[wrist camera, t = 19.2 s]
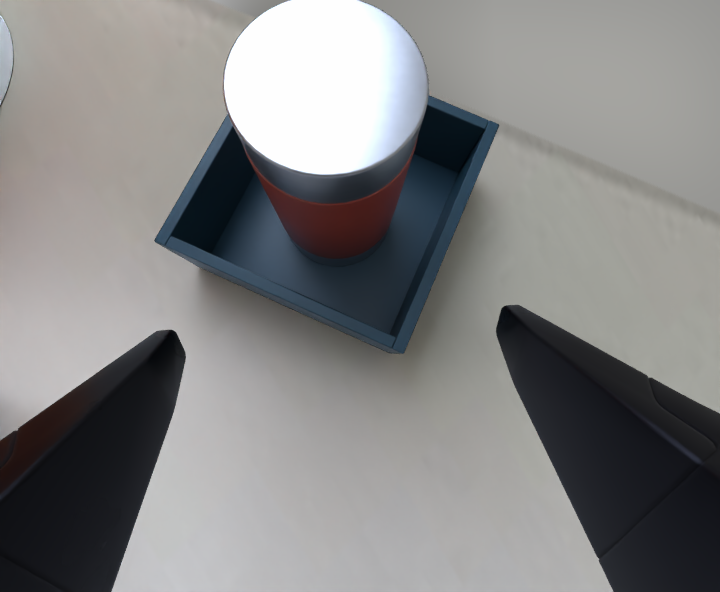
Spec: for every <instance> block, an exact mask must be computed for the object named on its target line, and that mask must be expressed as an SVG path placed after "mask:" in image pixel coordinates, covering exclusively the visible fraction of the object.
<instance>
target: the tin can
mask: <svg viewBox="0 0 720 592" xmlns="http://www.w3.org/2000/svg"><path fill="white" fill-rule="evenodd" d="M428 95H429V82H428V74H427V69H426V65H425V62H424V59H423V56H422V53H421V52H420V50H419V48H418V46H417V44H416V42H415V41H414V39H413V38H412V37H411V35H410V34H409V33H408V32H407V30H405V28H404V27H403V26H402V25H401V24H400V23H399V22H398V21H396V20H395V19H394V18H393V17H392V16H390V15H389V14H387V13H386V12H384V11H383V10H381V9H379V8H377V7H375V6H373V5H371V4H368V3H366V2H363V1H360V0H289V1H286V2H283V3H281V4H278V5H276V6H274V7H272V8H270V9H269V10H267V11H265V12H264V13H262V14H261V15H259V16H258V17H257V18H256V19H254V20H253V21H252V22H251V23H250V24H249V25H248V26H247V27H246V28H245V29H244V30H243V31H242V33H241V34H240V35H239V37H238V38H237V39H236V41H235V43H234V45H233V46H232V48H231V50H230V53H229V55H228V58H227V60H226V64H225V69H224V75H223V96H224V102H225V106H226V110H227V113H228V115H229V118H230V120H231V123H232V125H233V127H234V129H235V131H236V132H237V134H238V136H239V138H240V140H241V142H242V144H243V147H244V150H245V152H246V155H247V157H248V159H249V161H250V163H251V165H252V167H253V169H254V171H255V173H256V175H257V176H258V178H259V180H260V182H261V184H262V186H263V188H264V190H265V192H266V194H267V196H268V198H269V200H270V202H271V204H272V205H273V207H274V209H275V211H276V213H277V215H278V217H279V219H280V221H281V223H282V225H283V227H284V228H285V230H286V232H287V234H288V235H289V237H290V238H291V240H292V242H293V244H294V245H295V246H296V247H297V249H298V250H299V251H300V252H301V253H302V254H304V255H305V256H306V257H308V258H309V259H311V260H313V261H315V262H317V263H320V264H323V265H327V266H348V265H352V264H355V263H358V262H360V261H362V260H364V259H366V258H367V257H369V256H370V255H371V254H373V253H374V252H375V251H376V250H377V249H378V247H379V246H380V245H381V243H382V242H383V240H384V238H385V236H386V233H387V231H388V228H389V226H390V223H391V221H392V218H393V215H394V212H395V209H396V206H397V203H398V200H399V197H400V193H401V190H402V187H403V184H404V181H405V178H406V175H407V172H408V169H409V166H410V163H411V160H412V157H413V154H414V151H415V147H416V143H417V139H418V134H419V130H420V127H421V124H422V121H423V118H424V115H425V111H426V107H427V103H428Z"/></svg>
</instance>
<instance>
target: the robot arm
mask: <svg viewBox="0 0 720 592" xmlns="http://www.w3.org/2000/svg"><path fill="white" fill-rule="evenodd" d="M496 334H497V338H498V341H499V344H500V346H501V349H502V352H503V355H504V358H505V361H506V364H507V367H508V369H509V372H510V375H511V378H512V380H513V383H514V385H515V387H516V390H517V392H518V394H519V396H520V398H521V400H522V402H523V404H524V406H525V408H526V410H527V412H528V415H529V417H530V419H531V421H532V423H533V425H534V427H535V429H536V431H537V433H538V435H539V437H540V439H541V441H542V444H543V446H544V448H545V450H546V452H547V454H548V456H549V458H550V460H551V462H552V464H553V466H554V468H555V471H556V473H557V475H558V477H559V479H560V481H561V483H562V485H563V487H564V489H565V491H566V493H567V495H568V497H569V500H570V502H571V504H572V506H573V508H574V510H575V512H576V514H577V516H578V518H579V520H580V522H581V524H582V526H583V529H584V531H585V533H586V535H587V537H588V539H589V541H590V543H591V545H592V547H593V549H594V551H595V553H596V555H597V557H598V558H599V562H600V564H601V566H602V568H603V571H604V573H605V575H606V577H607V579H608V581H609V583H610V585H611V587H612V589H613V591H614V592H720V414H719V413H717V412H715V411H713V410H711V409H709V408H707V407H705V406H703V405H701V404H699V403H697V402H695V401H693V400H692V399H690V398H688V397H686V396H684V395H682V394H680V393H678V392H676V391H675V390H673V389H671V388H669V387H667V386H665V385H664V384H662V383H660V382H658V381H656V380H655V379H653V378H648V376H647V375H645V374H643V373H642V372H640V371H638V370H636V369H634V368H633V367H631V366H629V365H627V364H625V363H623V362H622V361H620V360H618V359H616V358H614V357H613V356H611V355H609V354H607V353H605V352H603V351H602V350H600V349H598V348H596V347H594V346H593V345H591V344H589V343H587V342H585V341H583V340H582V339H580V338H578V337H576V336H574V335H573V334H571V333H569V332H567V331H565V330H563V329H562V328H560V327H558V326H556V325H554V324H553V323H551V322H549V321H547V320H545V319H543V318H542V317H540V316H538V315H536V314H534V313H533V312H531V311H529V310H527V309H525V308H523V307H522V306H520V305H507V306H504V307H503V308H502V309H501V313H500V316H499V320H498V324H497V328H496ZM185 359H186V354H185V351H184V348H183V346H182V344H181V342H180V340H179V338H178V335H177V334H176V332H175V331H173V330H161V331H156V332H155V333H153V334H152V335H150V336H149V337H148V338H146V339H145V340H143V341H142V342H140V343H139V344H138V345H136V346H135V347H133V348H132V349H130V350H129V351H128V352H126V353H125V354H123V355H122V356H121V357H119V358H118V359H116V360H115V361H113V362H112V363H111V364H109V365H108V366H106V367H105V368H103V369H102V370H101V371H99V372H98V373H96V374H95V375H93V376H92V377H91V378H89V379H88V380H86V381H85V382H83V383H82V384H81V385H79V386H78V387H76V388H75V389H73V390H72V391H71V392H69V393H68V394H66V395H65V396H63V397H62V398H61V399H59V400H58V401H56V402H55V403H53V404H52V405H51V406H49V407H48V408H46V409H45V410H43V411H42V412H41V413H39V414H38V415H36V416H35V417H33V418H32V419H31V420H29V421H28V422H26V423H25V424H24V425H22V426H21V427H19V428H18V431H13V432H12V433H11V434H9V435H8V436H6V437H5V438H3V439H2V440H1V441H0V592H111V591H112V588H113V585H114V582H115V580H116V577H117V574H118V571H119V568H120V565H121V562H122V559H123V557H124V554H125V551H126V548H127V545H128V542H129V539H130V536H131V534H132V531H133V528H134V525H135V522H136V519H137V516H138V513H139V510H140V508H141V505H142V502H143V499H144V496H145V493H146V490H147V487H148V485H149V482H150V479H151V476H152V473H153V470H154V467H155V464H156V462H157V459H158V456H159V453H160V450H161V447H162V444H163V441H164V439H165V436H166V433H167V430H168V427H169V424H170V421H171V418H172V415H173V412H174V409H175V405H176V400H177V396H178V391H179V387H180V382H181V378H182V373H183V369H184V364H185Z"/></svg>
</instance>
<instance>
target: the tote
mask: <svg viewBox="0 0 720 592" xmlns="http://www.w3.org/2000/svg"><path fill="white" fill-rule="evenodd" d="M498 127H499V124H497V123H494V122H492V121H489V122H488V120H486V119H484V118H482V117H479V116H477V115H475V114H472V113H470V112H467V111H465V110H463V109H460V108H458V107H455V106H453V105H451V104H448V103H446V102H444V101H441V100H439V99H436V98H434V97H432V96H429V95H428V103H427V107H426V111H425V115H424V118H423V121H422V124H421V127H420V130H419V134H418V139H417V143H416V147H415V151H414V154H413V157H412V160H411V163H410V166H409V169H408V172H407V175H406V178H405V181H404V184H403V187H402V190H401V193H400V197H399V200H398V203H397V206H396V209H395V212H394V215H393V218H392V221H391V223H390V226H389V228H388V231H387V233H386V236H385V238H384V240H383V242H382V243H381V245H380V246H379V247H378V249H377V250H376V251H375V252H374V253H373V254H371V255H370V256H369V257H367V258H366V259H364V260H362V261H360V262H358V263H355V264H352V265H348V266H327V265H323V264H320V263H317V262H315V261H313V260H311V259H309V258H308V257H306V256H305V255H304V254H302V253H301V252H300V251H299V250H298V249H297V247H296V246H295V245H294V244H293V242H292V240H291V238H290V237H289V235H288V234H287V232H286V230H285V228H284V227H283V225H282V223H281V221H280V219H279V217H278V215H277V213H276V211H275V209H274V207H273V205H272V204H271V202H270V200H269V198H268V196H267V194H266V192H265V190H264V188H263V186H262V184H261V182H260V180H259V178H258V176H257V175H256V173H255V171H254V169H253V167H252V165H251V163H250V161H249V159H248V157H247V155H246V152H245V150H244V147H243V144H242V142H241V140H240V138H239V136H238V134H237V132H236V131H235V129H234V127H233V125H232V123H231V120H230V118H229V115H227V116H226V118H225V120H224V121H223V123H222V125H221V127H220V128H219V130H218V132H217V133H216V135H215V137H214V139H213V140H212V142H211V144H210V145H209V147H208V149H207V151H206V152H205V154H204V156H203V158H202V159H201V161H200V163H199V164H198V166H197V168H196V170H195V171H194V173H193V175H192V176H191V178H190V180H189V182H188V183H187V185H186V187H185V188H184V190H183V192H182V194H181V195H180V197H179V199H178V201H177V202H176V204H175V206H174V207H173V209H172V211H171V213H170V214H169V216H168V218H167V219H166V221H165V223H164V225H163V226H162V228H161V230H160V231H159V233H158V235H157V237H156V238H155V240H154V241H155V242H156V243H158V244H160V245H161V246H163V247H165V248H167V249H168V250H170V251H172V252H174V253H175V254H177V255H179V256H181V257H182V258H184V259H186V260H188V261H189V262H191V263H193V264H195V265H196V266H198V267H200V268H202V269H204V270H207V271H209V272H211V273H213V274H215V275H218V276H220V277H222V278H224V279H227V280H229V281H231V282H233V283H235V284H238V285H240V286H242V287H244V288H246V289H249V290H251V291H253V292H255V293H257V294H260V295H262V296H264V297H266V298H269V299H271V300H273V301H275V302H277V303H280V304H282V305H284V306H286V307H288V308H291V309H293V310H295V311H297V312H299V313H302V314H304V315H306V316H308V317H311V318H313V319H315V320H317V321H319V322H322V323H324V324H326V325H328V326H330V327H333V328H335V329H337V330H339V331H341V332H344V333H346V334H348V335H350V336H353V337H355V338H357V339H359V340H361V341H364V342H366V343H368V344H370V345H372V346H375V347H377V348H379V349H381V350H383V351H386V352H388V353H391V354H404V352H405V349H406V347H407V345H408V342H409V340H410V338H411V335H412V333H413V330H414V328H415V326H416V323H417V321H418V318H419V316H420V314H421V311H422V309H423V306H424V304H425V302H426V299H427V297H428V295H429V292H430V290H431V287H432V285H433V283H434V280H435V278H436V275H437V273H438V271H439V268H440V266H441V263H442V261H443V259H444V256H445V254H446V251H447V249H448V247H449V244H450V242H451V240H452V237H453V235H454V232H455V230H456V228H457V225H458V223H459V220H460V218H461V216H462V213H463V211H464V208H465V206H466V204H467V201H468V199H469V196H470V194H471V192H472V189H473V187H474V185H475V182H476V180H477V177H478V175H479V173H480V170H481V168H482V165H483V163H484V161H485V158H486V156H487V153H488V151H489V149H490V146H491V144H492V142H493V139H494V137H495V134H496V132H497V130H498Z"/></svg>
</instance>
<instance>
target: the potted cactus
mask: <svg viewBox="0 0 720 592" xmlns="http://www.w3.org/2000/svg"><path fill="white" fill-rule="evenodd" d="M12 67H13V45H12V39H11V36H10V32H9V30H8V27H7V25H6V23H5V21H4V20H3V18H2V16H1V15H0V104H1V102H2V100H3V98H4V96H5V93H6V91H7V88H8V85H9V82H10V78H11V73H12Z"/></svg>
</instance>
